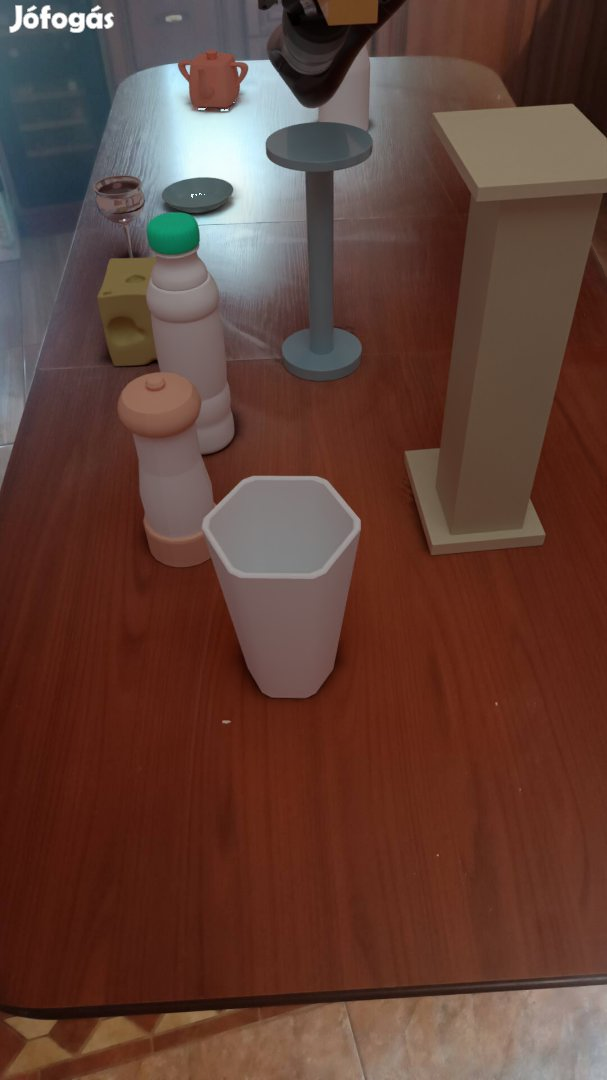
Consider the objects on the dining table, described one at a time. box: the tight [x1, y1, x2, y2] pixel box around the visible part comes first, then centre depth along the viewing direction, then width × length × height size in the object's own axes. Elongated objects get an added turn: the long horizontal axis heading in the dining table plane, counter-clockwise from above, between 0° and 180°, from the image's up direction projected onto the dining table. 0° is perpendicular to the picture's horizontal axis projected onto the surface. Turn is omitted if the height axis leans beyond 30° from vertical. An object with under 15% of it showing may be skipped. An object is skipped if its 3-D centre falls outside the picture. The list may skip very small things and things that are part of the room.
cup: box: [201, 475, 362, 699], centre depth 62 cm, size 11×10×17 cm
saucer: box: [161, 176, 234, 214], centre depth 132 cm, size 12×12×2 cm
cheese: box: [96, 256, 158, 367], centre depth 100 cm, size 10×11×10 cm
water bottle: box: [146, 211, 235, 456], centre depth 81 cm, size 7×7×25 cm
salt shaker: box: [116, 371, 218, 568], centre depth 72 cm, size 7×7×19 cm
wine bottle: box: [317, 43, 371, 132], centre depth 143 cm, size 10×10×30 cm
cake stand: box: [265, 121, 374, 382], centre depth 91 cm, size 11×11×26 cm
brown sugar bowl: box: [177, 49, 249, 110], centre depth 163 cm, size 14×12×10 cm
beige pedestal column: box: [403, 103, 607, 556], centre depth 69 cm, size 14×11×35 cm
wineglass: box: [92, 174, 146, 258], centre depth 115 cm, size 7×7×12 cm
